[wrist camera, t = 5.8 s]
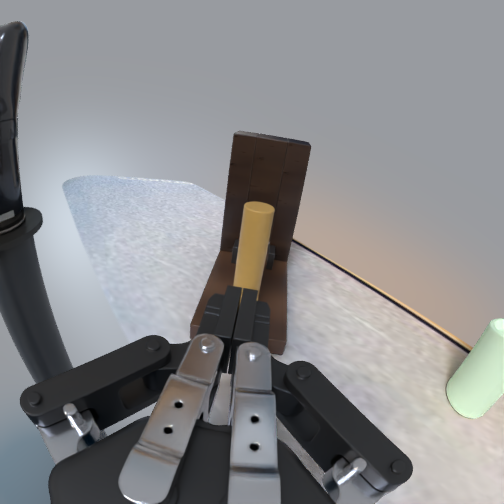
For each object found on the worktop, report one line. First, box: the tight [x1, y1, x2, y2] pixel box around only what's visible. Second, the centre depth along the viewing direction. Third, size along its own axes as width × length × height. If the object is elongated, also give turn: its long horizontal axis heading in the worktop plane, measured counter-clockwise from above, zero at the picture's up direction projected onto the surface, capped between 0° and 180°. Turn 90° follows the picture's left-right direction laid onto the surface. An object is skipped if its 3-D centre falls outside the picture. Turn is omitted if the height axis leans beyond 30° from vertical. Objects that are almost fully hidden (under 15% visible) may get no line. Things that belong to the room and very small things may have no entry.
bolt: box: [233, 201, 275, 302], centre depth 23 cm, size 6×2×8 cm, turn 174°
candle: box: [446, 319, 504, 419], centre depth 16 cm, size 5×5×8 cm
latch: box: [190, 131, 311, 355], centre depth 25 cm, size 15×7×14 cm, turn 174°
